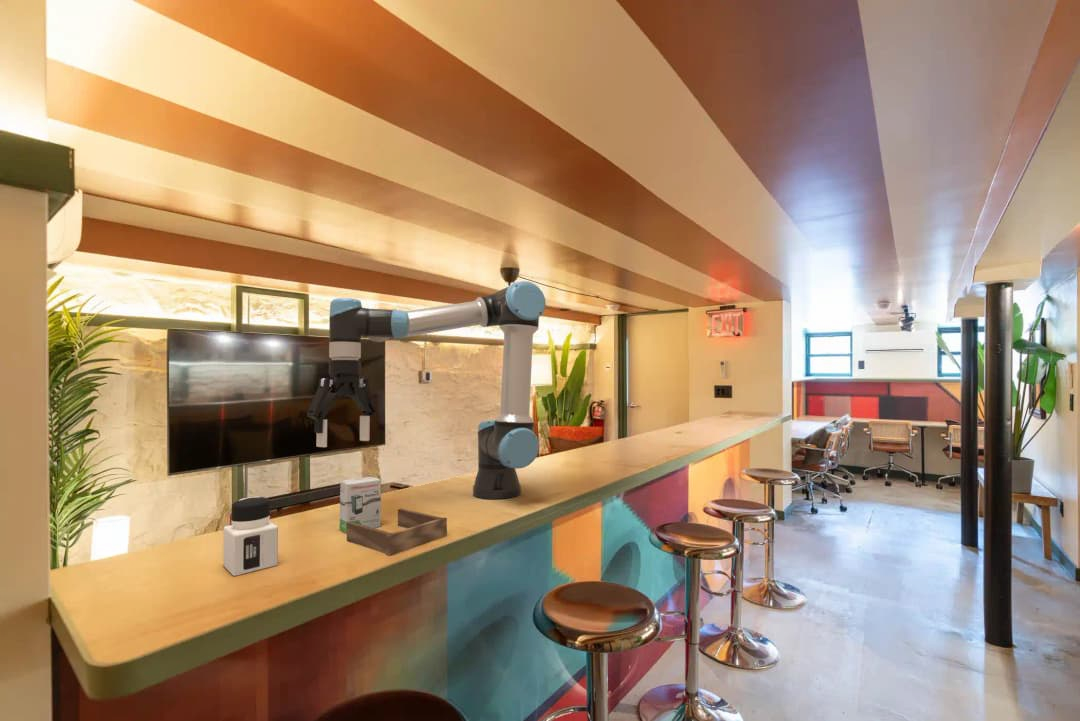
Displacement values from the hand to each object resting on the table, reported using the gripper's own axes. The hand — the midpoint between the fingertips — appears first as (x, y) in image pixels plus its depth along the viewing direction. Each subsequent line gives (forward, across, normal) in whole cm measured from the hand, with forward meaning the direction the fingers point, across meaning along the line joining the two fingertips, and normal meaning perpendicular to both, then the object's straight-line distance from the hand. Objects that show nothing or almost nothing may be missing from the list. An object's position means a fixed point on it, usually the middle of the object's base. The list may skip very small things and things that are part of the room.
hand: (344, 443), depth 124 cm
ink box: (+20, 0, +6) cm, 21 cm away
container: (+21, +27, +5) cm, 35 cm away
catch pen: (+20, +3, +20) cm, 28 cm away
